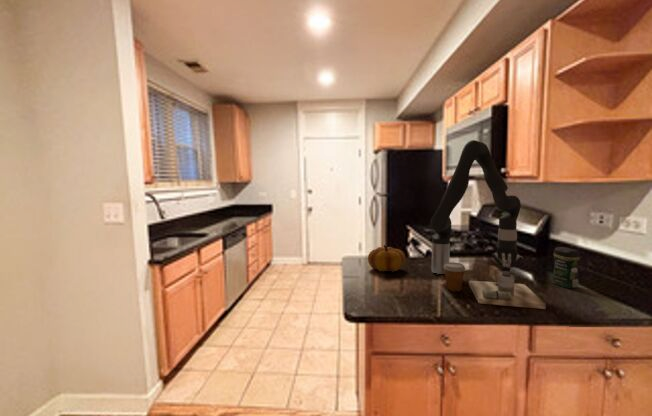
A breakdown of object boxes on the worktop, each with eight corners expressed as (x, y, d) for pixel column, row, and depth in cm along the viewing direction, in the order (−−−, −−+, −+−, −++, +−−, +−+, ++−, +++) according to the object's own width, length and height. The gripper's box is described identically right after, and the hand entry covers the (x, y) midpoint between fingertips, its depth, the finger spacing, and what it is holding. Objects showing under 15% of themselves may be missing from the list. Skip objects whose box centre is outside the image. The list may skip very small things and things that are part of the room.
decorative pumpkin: (384, 277, 160) (384, 250, 159) (361, 267, 179) (361, 243, 178) (412, 271, 169) (412, 246, 168) (387, 263, 189) (387, 240, 188)
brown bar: (516, 296, 124) (517, 274, 124) (501, 295, 125) (501, 273, 125) (498, 281, 143) (499, 262, 142) (485, 281, 144) (485, 262, 143)
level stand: (478, 303, 124) (479, 291, 123) (468, 284, 147) (469, 274, 146) (545, 309, 117) (546, 296, 116) (524, 288, 140) (524, 277, 139)
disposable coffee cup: (463, 286, 143) (464, 262, 142) (466, 293, 134) (466, 268, 133) (442, 285, 146) (443, 261, 145) (443, 291, 137) (444, 266, 137)
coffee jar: (548, 282, 147) (550, 246, 145) (562, 281, 148) (564, 245, 146) (567, 289, 137) (569, 250, 136) (581, 288, 138) (583, 249, 137)
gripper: (489, 238, 138) (489, 274, 139) (523, 241, 130) (522, 279, 131) (492, 236, 143) (491, 270, 145) (524, 238, 136) (523, 275, 137)
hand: (506, 274), depth 138 cm, fingers closed
